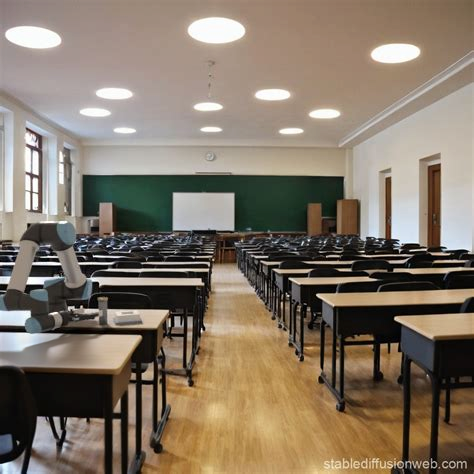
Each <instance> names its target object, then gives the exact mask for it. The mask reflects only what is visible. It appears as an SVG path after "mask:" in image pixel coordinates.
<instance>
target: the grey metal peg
mask: <svg viewBox="0 0 474 474" xmlns="http://www.w3.org/2000/svg"><path fill="white" fill-rule="evenodd" d="M108 299H109V298H108V297H107V296H106V297H105V296H102V297H101V296H100V297H97V301H98V304H97V305H98V311H101V310H103V316H99V317H98V325H99V326H105V325H108Z"/></svg>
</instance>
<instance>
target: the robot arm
mask: <svg viewBox="0 0 474 474" xmlns="http://www.w3.org/2000/svg"><path fill="white" fill-rule="evenodd" d="M76 231H77V230H76V228H75V226H74V224H73V223H72V222H70V221H63V220H62V221H61V220H60V221H38V222H35V223H33V224H31V225H30V226H29V227H28V228H27V229H26V230H25V231H24V233H22V235H21V237H20V239H19V242H18V246H19V250H18V252H17V256H16V259H15V262H14V265H13V268H12V271H11V272H12V273H11V274H10V278H9V281H8V285H7V288H6V291H5V293H4V294H0V311H2V312H21V311H22V312H29V311H30V317H27V318H25V319H26V320H25V321H24V329H25V330H26V331H25V332H27V333H28V334H30V335H33V334H40V333H43V332H47V331H50V330H51V331H54V330H55V329H57V328H63V327H66V326H68V325H69V323H71V322H75V323H77V322H81V321H89V320H92V321H93V320H95V319H96V318H99V316H103V310H101V311H99V310H97V311H93V312H91V313H85V308H84V307H82V308H77V309H73V308H70V309H69V308H68V306H67V301H69V300H71V301H72V300H74V301H83V300H88V299H90V298H91V295H92V291H93V281H92V280H91V278H88V279H87V276H86V274H84V273H82V270H81V267H80V265H79V264H80V263H79V261H78V259H77V255H76V252H75V249H74V244H75V243H76V240H77V232H76ZM42 245H50V247H51V250H52V251H54V252H56V255H57V258H58V260H59V262H60V266H61V268H62V271H63V274H64V276H58V277H52V278H48V279H45V280H44V281H43V288H42V289H34V290H33V289H32V290H30V292H29V293H27V294H26V293H25V289H26V286H27V283H28V280H29V276H30V273H31V269H32V266H33V263H34V260H35V256H36V253H37V251H39V250H40V248H41V246H42Z"/></svg>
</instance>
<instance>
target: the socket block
mask: <svg viewBox="0 0 474 474" xmlns="http://www.w3.org/2000/svg"><path fill="white" fill-rule="evenodd" d="M114 315H115V317H113V322H114V324H115V326H118V325H120V326H121V325H129V324H132V325H133V324H142V323H143V320H142V318H141V314H140V312H139V311H138V309H134V310H123V311H122V310H121V311H115V313H114Z"/></svg>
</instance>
